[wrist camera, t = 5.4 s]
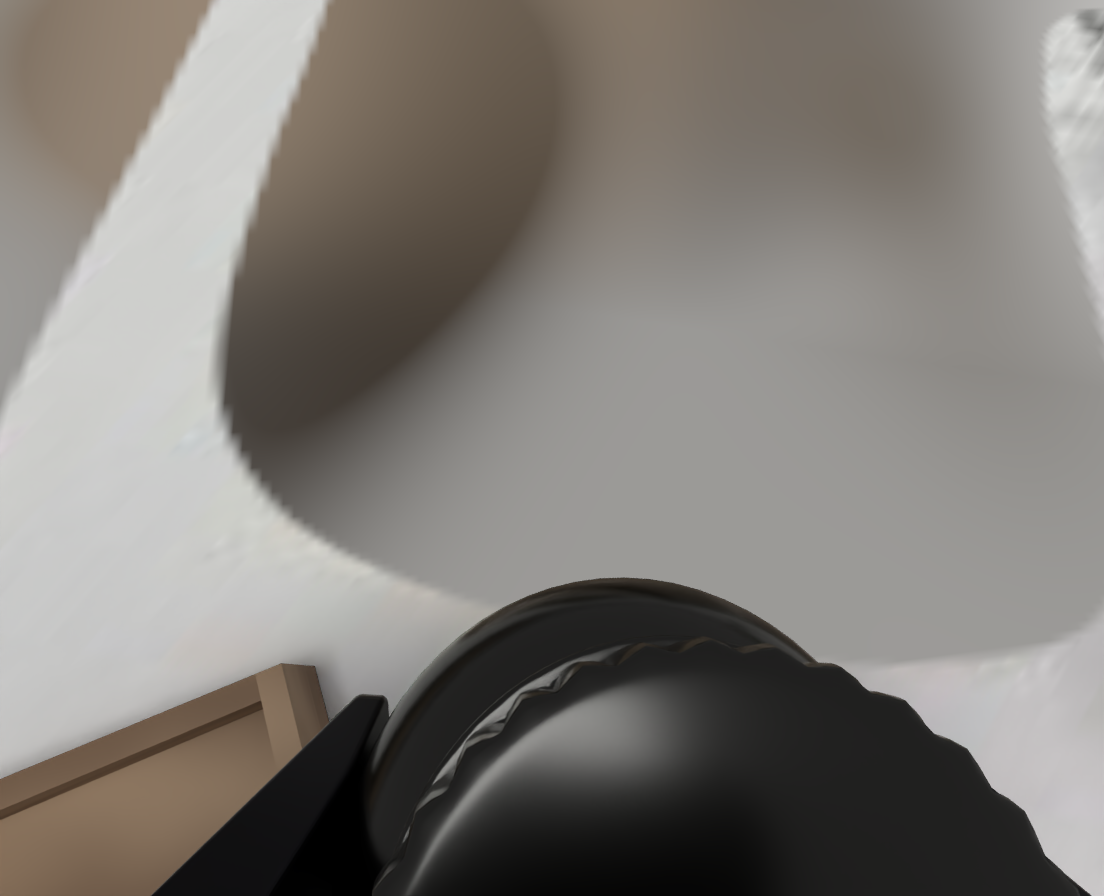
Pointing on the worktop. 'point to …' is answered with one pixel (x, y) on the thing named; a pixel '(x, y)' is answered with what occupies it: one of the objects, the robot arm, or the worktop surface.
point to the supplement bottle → (668, 768)
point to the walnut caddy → (152, 788)
